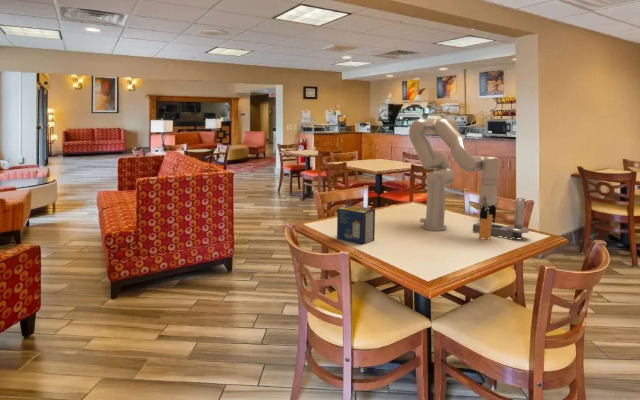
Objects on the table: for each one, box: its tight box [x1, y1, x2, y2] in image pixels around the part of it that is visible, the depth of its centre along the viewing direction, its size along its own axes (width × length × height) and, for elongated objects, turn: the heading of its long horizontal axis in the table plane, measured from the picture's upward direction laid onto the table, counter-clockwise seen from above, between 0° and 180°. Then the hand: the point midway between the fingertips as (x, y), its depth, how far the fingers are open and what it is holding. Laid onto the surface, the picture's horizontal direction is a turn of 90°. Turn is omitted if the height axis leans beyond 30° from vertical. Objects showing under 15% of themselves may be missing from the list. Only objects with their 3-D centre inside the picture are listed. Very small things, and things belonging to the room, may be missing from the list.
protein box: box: [336, 204, 376, 245], centre depth 204 cm, size 10×15×16 cm
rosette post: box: [507, 197, 530, 238], centre depth 208 cm, size 10×10×20 cm
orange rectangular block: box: [478, 214, 493, 240], centre depth 208 cm, size 4×4×12 cm
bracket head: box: [472, 222, 514, 238], centre depth 217 cm, size 20×9×4 cm, turn 45°
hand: (488, 217), depth 207 cm, fingers open, 9 cm apart
